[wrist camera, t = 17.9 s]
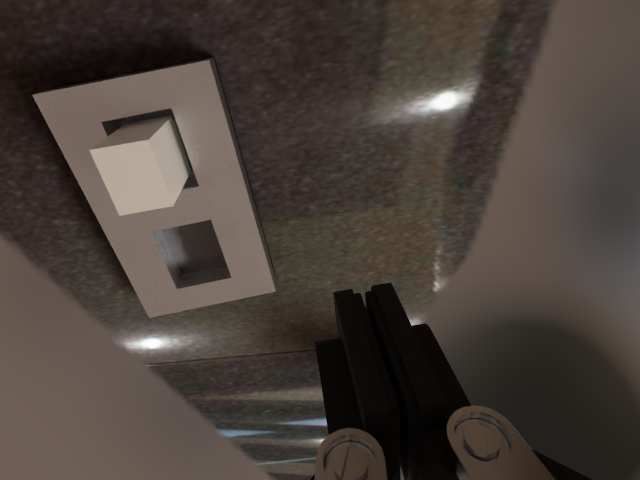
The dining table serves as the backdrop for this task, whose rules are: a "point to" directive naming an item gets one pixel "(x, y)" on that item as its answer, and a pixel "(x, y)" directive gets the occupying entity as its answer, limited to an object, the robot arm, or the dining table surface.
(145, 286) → the socket board
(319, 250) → the dining table surface
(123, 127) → the plug
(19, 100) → the dining table surface
